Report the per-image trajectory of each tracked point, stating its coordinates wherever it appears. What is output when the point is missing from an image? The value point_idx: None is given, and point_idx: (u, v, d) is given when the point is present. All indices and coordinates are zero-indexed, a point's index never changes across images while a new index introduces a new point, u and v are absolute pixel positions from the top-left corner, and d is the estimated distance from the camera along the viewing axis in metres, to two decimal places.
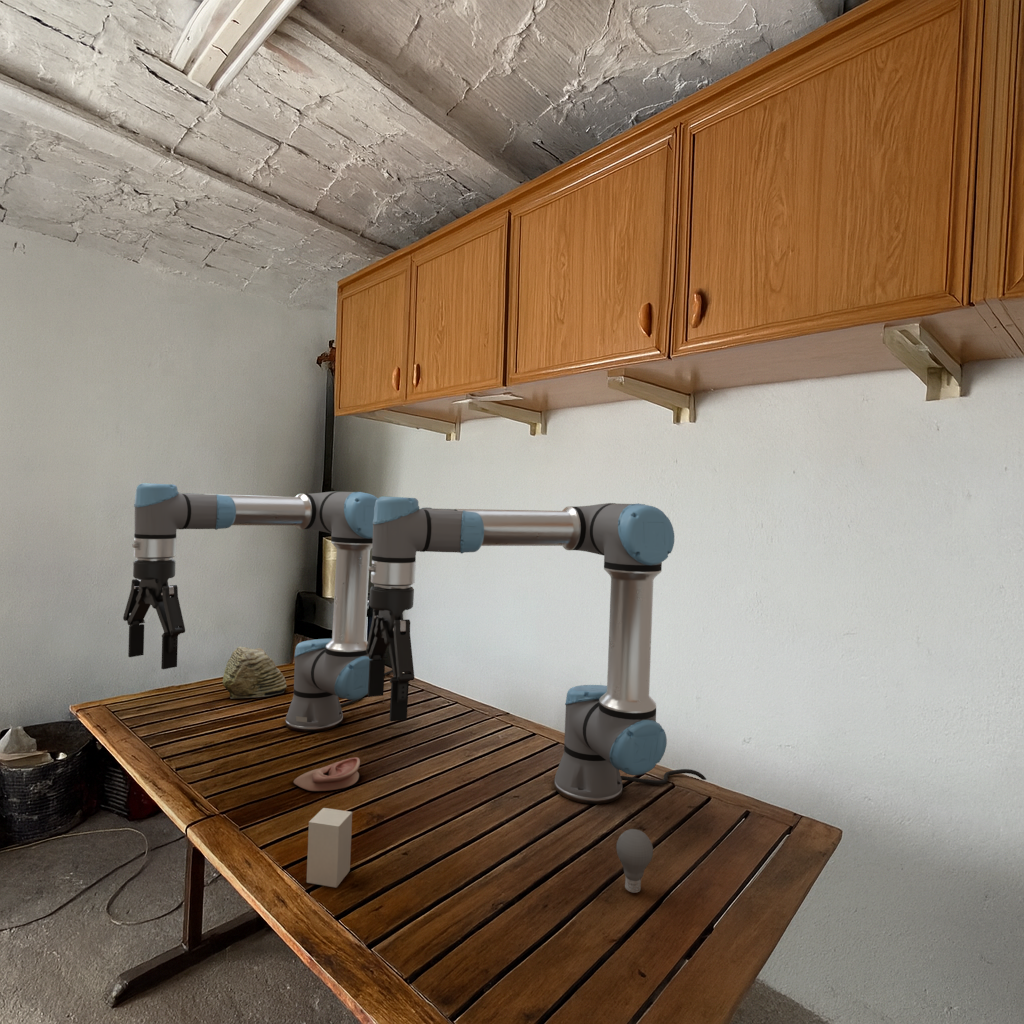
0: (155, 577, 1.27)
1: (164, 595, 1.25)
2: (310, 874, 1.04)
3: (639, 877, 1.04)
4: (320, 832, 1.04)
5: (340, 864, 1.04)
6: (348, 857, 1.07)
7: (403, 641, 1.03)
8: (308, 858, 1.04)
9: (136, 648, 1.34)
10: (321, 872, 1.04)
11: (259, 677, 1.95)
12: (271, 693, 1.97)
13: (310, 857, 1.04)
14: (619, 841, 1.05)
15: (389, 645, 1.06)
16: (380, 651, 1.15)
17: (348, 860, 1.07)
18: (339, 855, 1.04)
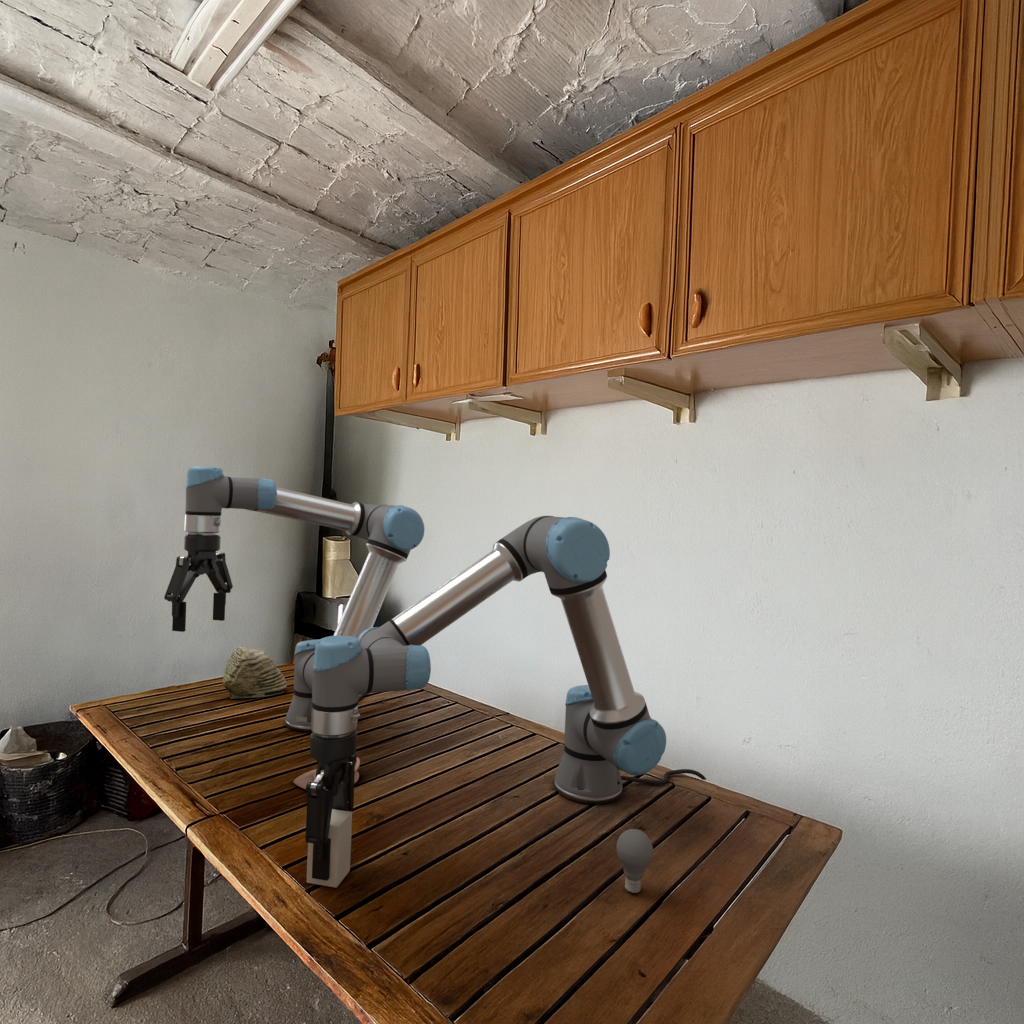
0: None
1: (223, 560, 1.52)
2: (310, 874, 1.04)
3: (639, 877, 1.04)
4: None
5: (340, 864, 1.04)
6: (348, 857, 1.07)
7: None
8: (308, 858, 1.04)
9: None
10: None
11: (259, 677, 1.95)
12: (271, 693, 1.97)
13: (310, 857, 1.04)
14: (619, 841, 1.05)
15: (344, 786, 1.08)
16: None
17: (348, 860, 1.07)
18: (339, 855, 1.04)
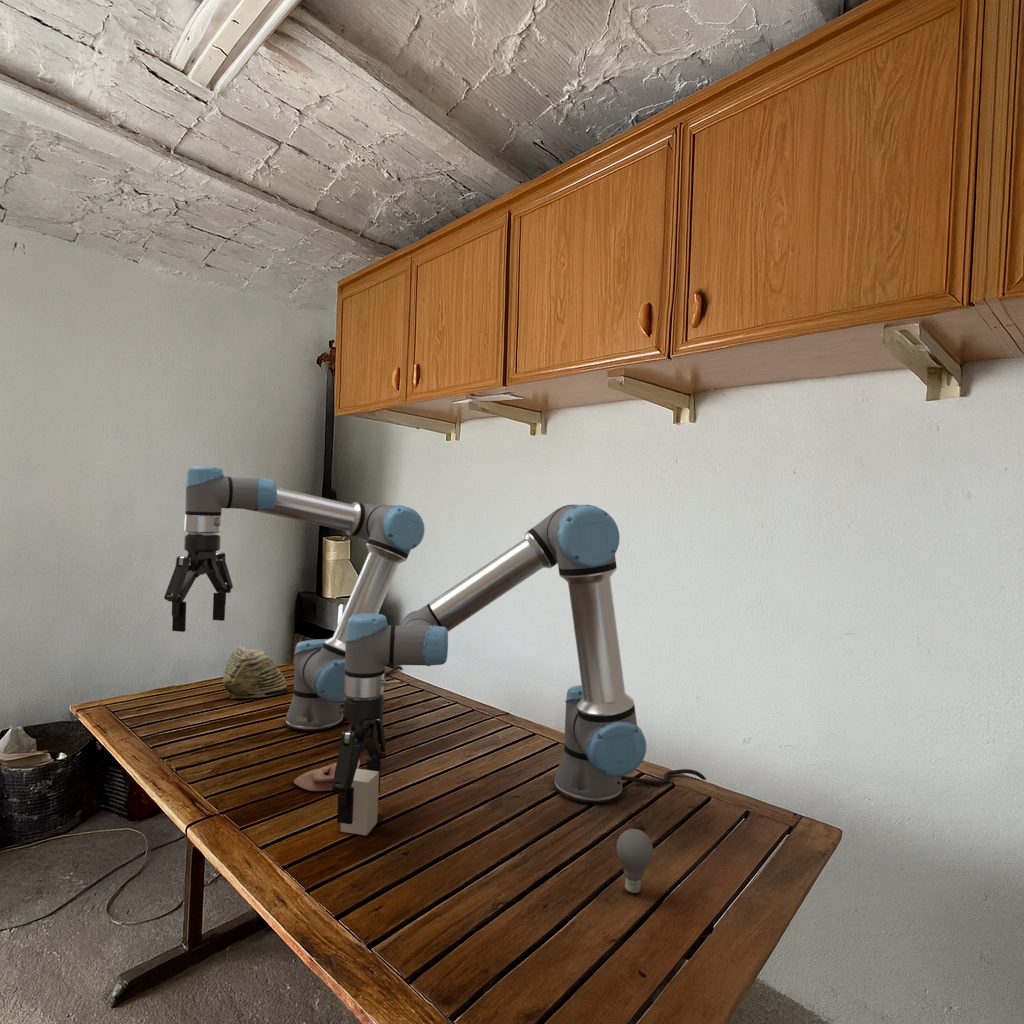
0: None
1: (223, 560, 1.52)
2: (343, 824, 1.20)
3: (639, 877, 1.04)
4: None
5: (370, 815, 1.21)
6: (376, 810, 1.23)
7: None
8: None
9: None
10: (353, 822, 1.20)
11: (259, 677, 1.95)
12: (271, 693, 1.97)
13: None
14: (619, 841, 1.05)
15: None
16: None
17: (375, 813, 1.23)
18: (368, 807, 1.20)
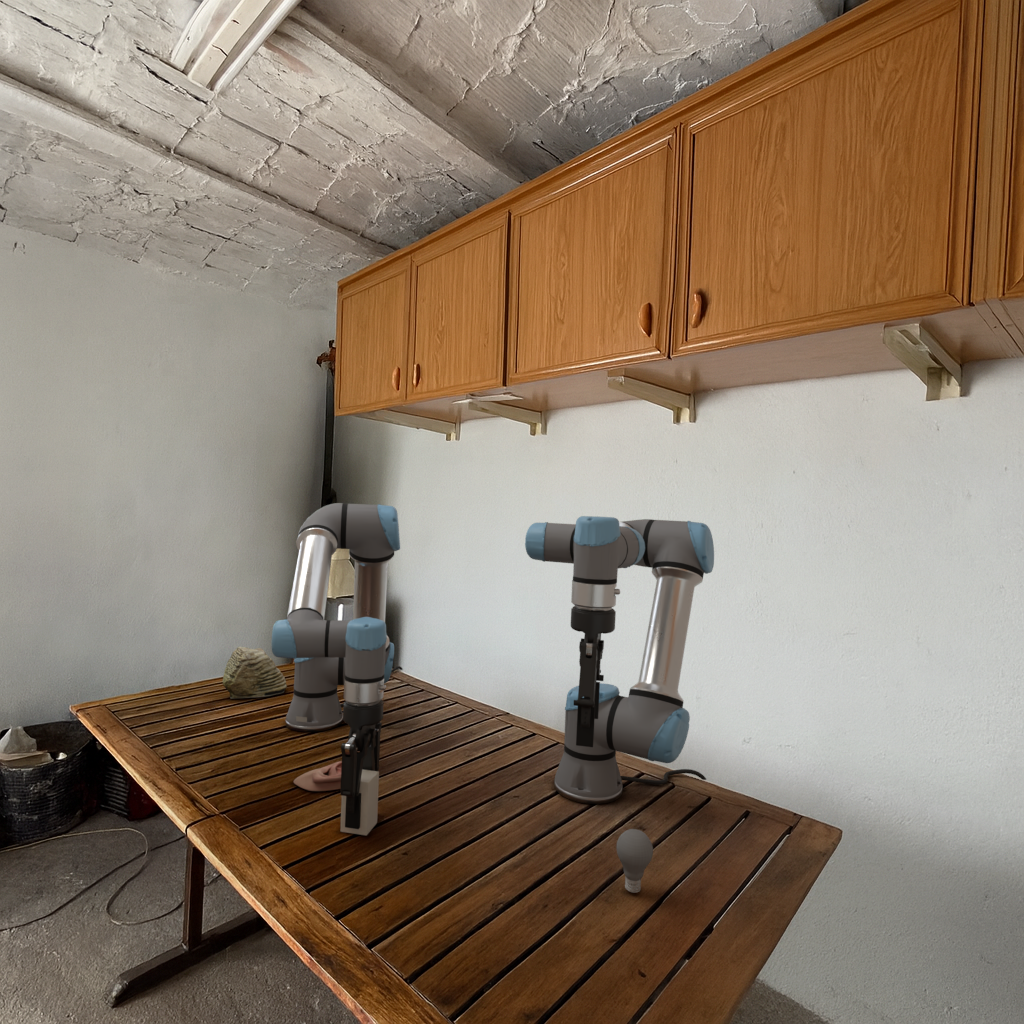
0: None
1: (379, 732, 1.27)
2: (343, 824, 1.20)
3: (639, 877, 1.04)
4: None
5: (370, 815, 1.21)
6: (376, 810, 1.23)
7: None
8: (342, 810, 1.20)
9: None
10: None
11: (259, 677, 1.95)
12: (271, 693, 1.97)
13: (343, 809, 1.20)
14: (619, 841, 1.05)
15: None
16: None
17: (375, 813, 1.23)
18: (368, 807, 1.20)
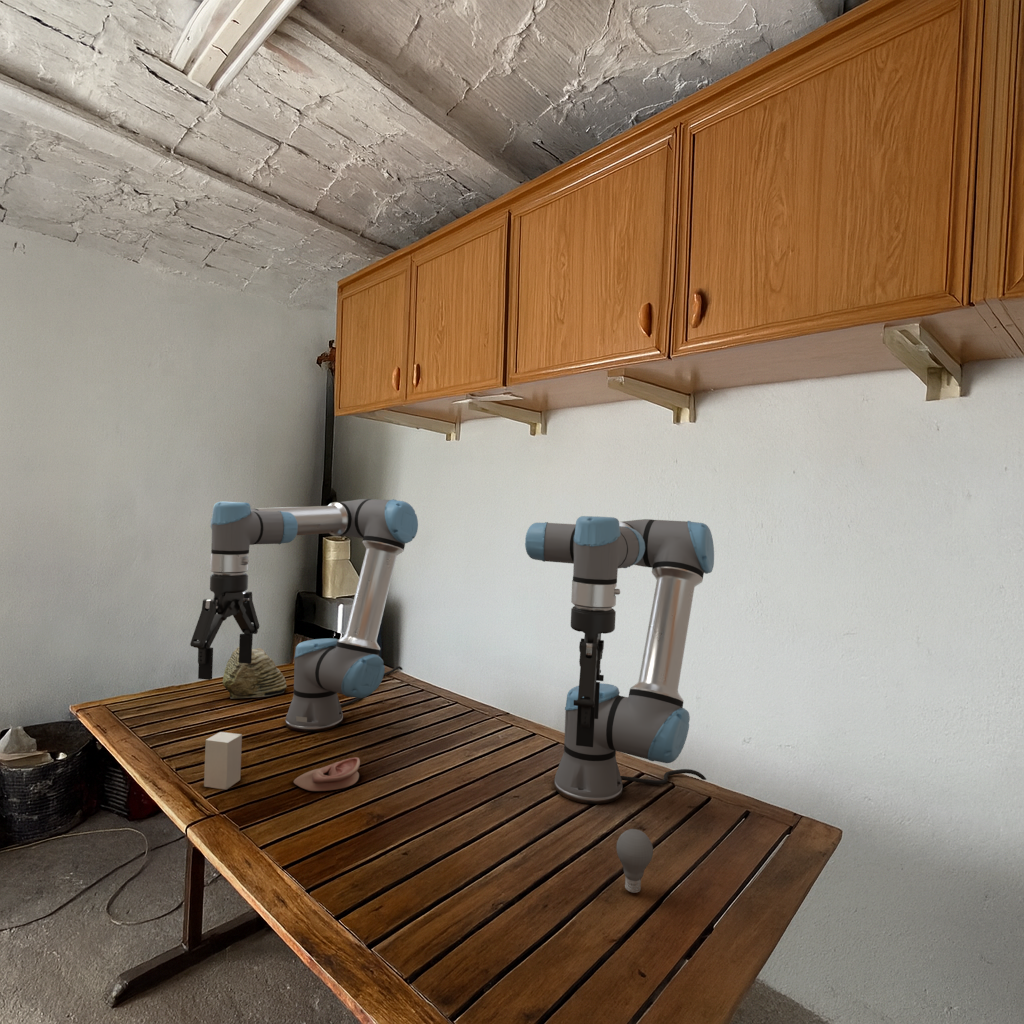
0: None
1: (250, 599, 1.43)
2: (206, 780, 1.36)
3: (639, 877, 1.04)
4: (214, 748, 1.35)
5: (230, 772, 1.36)
6: (238, 769, 1.39)
7: None
8: (205, 768, 1.36)
9: None
10: (215, 778, 1.36)
11: (259, 677, 1.95)
12: (271, 693, 1.97)
13: (206, 767, 1.36)
14: (619, 841, 1.05)
15: None
16: None
17: (238, 771, 1.39)
18: (228, 765, 1.35)
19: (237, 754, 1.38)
